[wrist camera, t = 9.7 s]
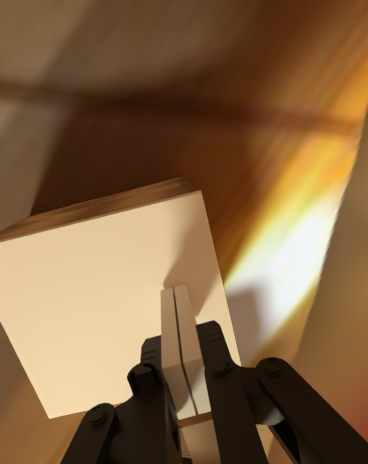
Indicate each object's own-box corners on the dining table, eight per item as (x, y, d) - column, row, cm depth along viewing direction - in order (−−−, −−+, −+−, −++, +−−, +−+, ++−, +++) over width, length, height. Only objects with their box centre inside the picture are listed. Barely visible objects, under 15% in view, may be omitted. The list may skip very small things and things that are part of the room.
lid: (53, 408, 21) (49, 418, 21) (-26, 246, 18) (-35, 251, 17) (241, 366, 21) (243, 375, 20) (200, 189, 17) (201, 192, 16)
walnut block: (186, 395, 33) (195, 470, 25) (175, 359, 31) (181, 428, 24) (229, 383, 33) (251, 455, 25) (220, 347, 31) (241, 411, 24)
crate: (79, 338, 29) (52, 405, 22) (29, 216, 26) (-25, 245, 18) (214, 302, 30) (234, 355, 22) (183, 176, 26) (194, 187, 18)
